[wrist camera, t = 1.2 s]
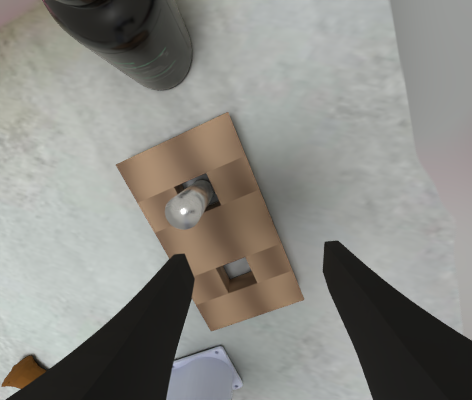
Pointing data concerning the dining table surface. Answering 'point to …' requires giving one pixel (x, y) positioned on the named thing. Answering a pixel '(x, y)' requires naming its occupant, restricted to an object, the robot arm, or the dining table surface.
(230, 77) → the dining table surface
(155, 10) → the supplement bottle
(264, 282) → the tool stand
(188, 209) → the steel peg
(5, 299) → the dining table surface
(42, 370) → the primitive tool
